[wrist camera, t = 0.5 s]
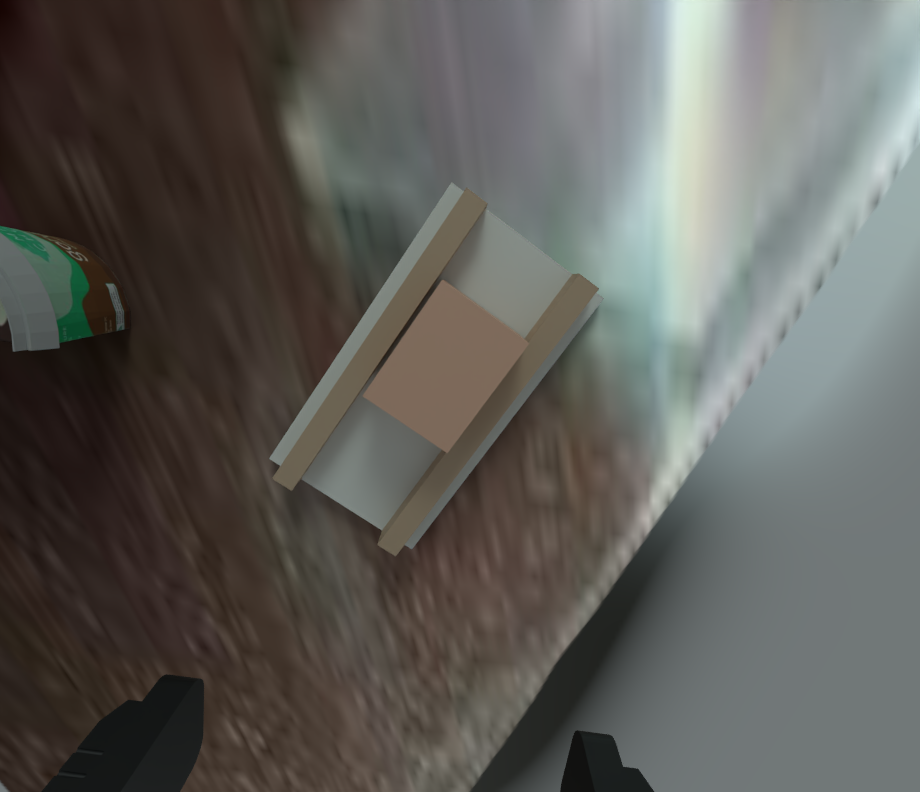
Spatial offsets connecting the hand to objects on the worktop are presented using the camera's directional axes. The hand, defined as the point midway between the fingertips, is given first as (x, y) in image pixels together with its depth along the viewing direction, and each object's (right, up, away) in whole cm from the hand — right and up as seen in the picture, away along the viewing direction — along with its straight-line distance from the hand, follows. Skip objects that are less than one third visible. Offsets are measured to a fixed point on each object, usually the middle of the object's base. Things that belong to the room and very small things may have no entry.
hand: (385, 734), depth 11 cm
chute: (0, +8, +23) cm, 25 cm away
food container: (-25, +16, +22) cm, 37 cm away
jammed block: (+1, +10, +22) cm, 24 cm away
